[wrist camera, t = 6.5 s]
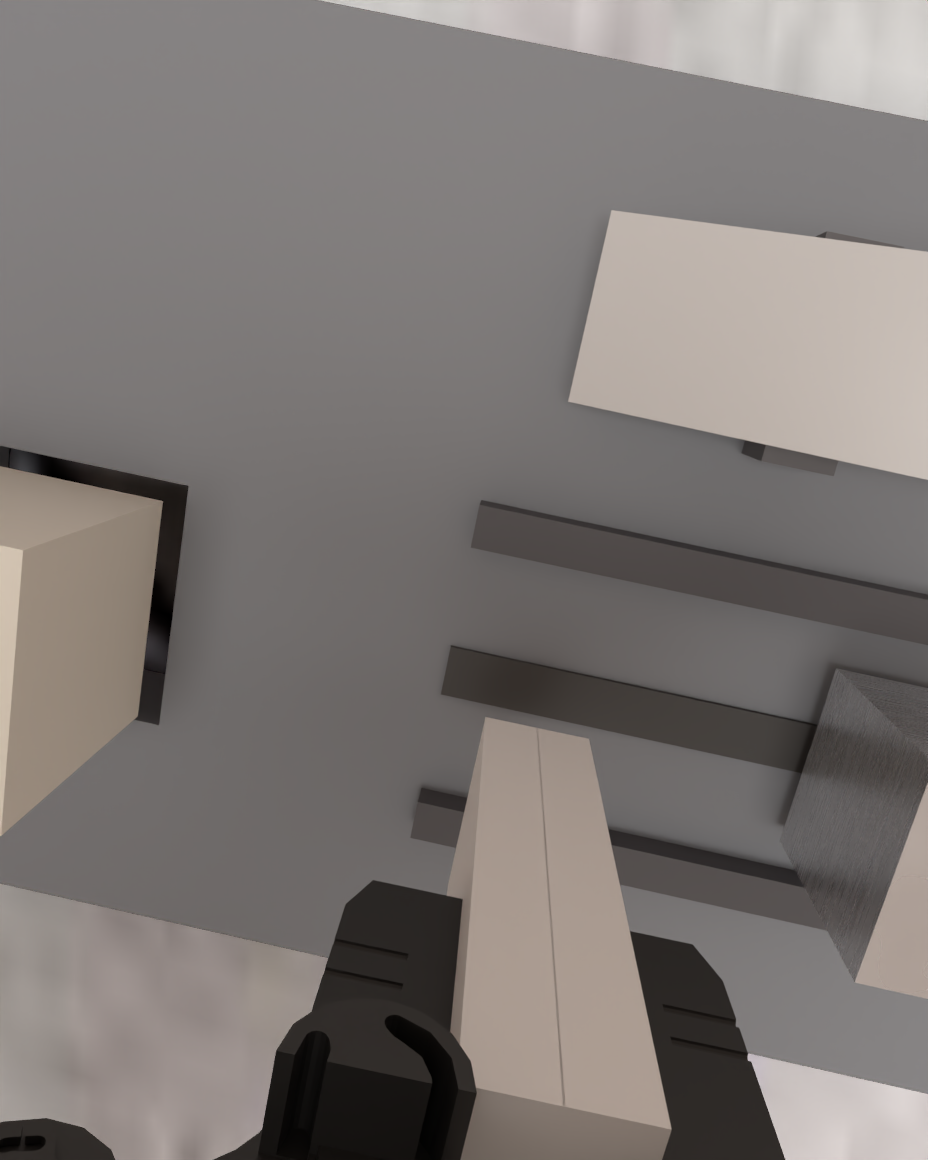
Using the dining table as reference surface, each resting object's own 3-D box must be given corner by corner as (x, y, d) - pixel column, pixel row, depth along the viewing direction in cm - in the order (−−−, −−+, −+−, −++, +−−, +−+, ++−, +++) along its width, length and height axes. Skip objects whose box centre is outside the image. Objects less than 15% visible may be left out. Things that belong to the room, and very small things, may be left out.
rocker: (582, 403, 15) (568, 401, 14) (623, 221, 14) (611, 209, 14) (1117, 519, 12) (1133, 524, 12) (1202, 300, 12) (1226, 291, 11)
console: (-308, 742, 22) (-487, 821, 18) (-324, -81, 17) (-565, -208, 13) (972, 1029, 21) (1070, 1176, 17) (1297, 242, 16) (1526, 204, 13)
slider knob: (779, 840, 17) (854, 982, 13) (836, 668, 16) (934, 764, 12) (903, 868, 17) (1015, 1018, 13) (966, 696, 16) (1107, 801, 12)
